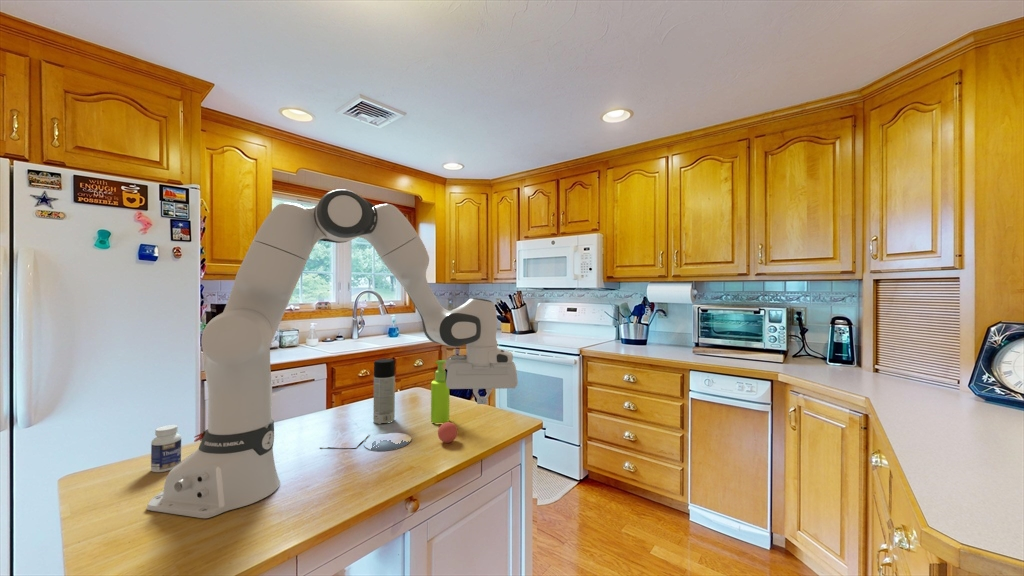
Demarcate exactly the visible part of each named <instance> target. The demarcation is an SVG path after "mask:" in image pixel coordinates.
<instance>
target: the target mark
mask: <svg viewBox="0 0 1024 576" xmlns="http://www.w3.org/2000/svg"><path fill="white" fill-rule="evenodd" d="M412 440H413V438H412V439H411V441H412ZM408 443H409V441H408V442H406V441H404V442H403V440H402V441H401V443H400V444H399V443H398V444H395V443H393V442H391V440H389V441H387V440H383V441H381V440H380V443H378V444H377V445H376V441H374V442H373V443H372V448H371V450H370V451H372V450H377V451H376V452H388V451H387V450H389V451H393V450H392V449H395V450H397V449H396V448H399V449H401V448H400V447H402V448H404V447H406V446H408V445H409V444H410V443H409V444H408ZM407 444H408V445H407ZM374 445H375V446H374ZM405 445H406V446H405ZM373 446H374V447H373ZM378 446H379V447H378ZM403 446H404V447H403ZM376 447H377V448H376Z"/></svg>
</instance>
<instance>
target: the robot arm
mask: <svg viewBox="0 0 1024 576" xmlns="http://www.w3.org/2000/svg"><path fill="white" fill-rule="evenodd" d="M356 238H362V239H363V240H366V242H368V243H370V244H369V245H371V246H372V247H373V248H374V250H375V251H376V253H377V255H378V256H379V258H380V259H381V261H382V262H383V264H384V265H385V267H386V268H387V269H388V270H389V272H391V274H392V275H393V276H394V277H395V278H396V281H398V282H399V284H400V285H401V287H403V289H404V291H405V292H406V294H407V295H408V297H409V299H410V300H411V302H412V304H413V306H415V307H414V308H415V309H416V310H417V312H418V314H419V317H420V318H421V323H422V330H423V333H424V335H425V337H426V338H427V339H428V340H429V341H430V342H432V343H434V344H440V345H444V346H446V347H447V346H448V347H451V348H458V347H461V346H465V347H466V348H465V350H466V354H465V355H464V354H461V355H455V354H454V355H450V356H449V357H447V358H446V359H445V360H446V363H445V369H446V370H447V372H446V386H447V387H448V388H449V390H465V389H466V390H467V389H468V390H469V389H470V390H472V394H473V395H474V397H475V398H476V404H477V405H488V401H489V397H490V395H491V393H492V390H493V389H501V390H502V389H516V388H517V386H518V383H519V381H518V372H517V366H516V364H515V363H514V361H513V360H514V356H513V353H512V352H511V351H509V350H505V349H502V348H498V340H497V331H498V317H497V308H496V306H495V303H494V302H493V301H491V300H489V299H485V298H477V297H471V298H469V299H468V300H467V301H466V302H464V303H462V304H461V305H459V306H458V307H456V308H454V309H451V310H448V309H446V308H445V307H443V306H442V305H441V304H440V302H439V300H438V298H437V297H436V295H435V294H434V292H433V290H432V288H431V286H430V285H429V282H428V280H427V270H428V267H429V264H430V256H429V253H428V251H427V248H426V246H425V243H424V242H423V240H422V239H421V237H420V236H419V234H418V233H417V231H416V230H415V228H414V226H413V225H412V224H411V222H410V221H409V220H408V218H407V217H406V216H405V215H404V214H403V213H402V211H401V210H400V209H399V208H398V207H397V206H395V205H393V204H390V203H381V204H377V205H375V204H373V203H371V202H370V201H368V200H367V199H365V198H364V197H363V196H362V197H361V196H360V195H359V194H358V193H356V192H354V191H352V190H348V189H335V190H331V191H328V192H327V193H325V194H324V195H323V196H322V197H321V198H320V199H319V200H318V202H317V204H316V205H315V206H312V207H305V206H303V205H300V204H298V203H293V202H292V203H291V202H282V203H278V204H277V205H275V206H274V208H273V209H271V211H270V212H269V214H268V215H267V216H266V218H265V219H264V220H263V222H262V224H261V225H260V227H259V228H258V230H257V231H256V234H255V235H254V238H253V240H252V241H251V243H250V245H249V248H248V250H247V252H246V253H245V256H244V258H243V260H242V262H241V264H240V266H239V268H238V270H237V273H236V275H235V279H234V282H233V285H232V287H231V288H232V289H231V291H230V294H229V297H228V300H227V301H226V305H225V306H224V309H223V312H221V313H219V314H218V315H216V316H215V317H213V318H212V319H211V320H210V321H209V322H208V323H207V324H206V325H205V327H204V328H203V330H202V334H201V337H200V338H201V342H200V344H201V349H202V356H203V358H202V359H203V366H204V367H203V368H204V375H205V380H206V386H207V395H208V396H207V411H208V412H207V429H205V430H204V431H202V432H201V433H199V434H197V435H195V436H193V438H196V439H194V441H193V442H194V443H195V442H198V441H200V440H201V441H200V444H199V446H198V449H196V450H194V451H193V452H192V453H190V455H188V456H187V457H186V458H184V459H183V460H181V462H180V463H179V464H178V465H176V466H175V467H174V468H173V469H172V470H169V471H168V474H167V475H166V478H165V481H164V485H163V486H164V487H163V490H162V491H160V492H159V493H158V494H156V495H155V496H154V497H152V498H151V499H150V500H149V502H148V503H147V507H146V509H147V510H148V511H152V512H159V513H165V514H172V515H179V516H184V517H185V516H186V517H192V518H198V519H209V518H212V517H216V516H218V515H220V514H222V513H225V512H228V511H231V510H235V509H238V508H243V507H245V506H248V505H252V504H254V503H256V502H258V501H261V500H263V499H265V498H267V497H269V496H270V495H271V494H273V493H274V492H276V491H277V489H278V488H279V487H280V485H281V481H280V479H279V476H278V472H277V469H276V468H277V467H276V464H275V457H274V450H273V449H274V441H275V440H274V439H275V422H274V419H273V415H272V414H273V413H272V412H273V408H272V406H273V383H272V373H271V372H272V371H271V343H272V342H273V339H274V338H275V335H276V334H277V331H278V328H279V326H280V323H281V321H282V319H283V317H284V314H285V312H286V310H287V307H288V305H289V303H290V300H291V298H292V296H293V293H294V291H295V288H296V287H297V284H298V282H299V279H300V278H301V275H302V273H303V271H304V269H305V266H306V265H307V262H308V260H309V258H310V255H311V253H312V251H313V249H314V247H315V245H316V244H317V243H318V242H319V241H320V242H329V243H337V244H341V243H342V244H343V243H347V242H350V241H353V240H354V239H356ZM483 389H485V392H486V395H485V396H480V394H479V390H483Z"/></svg>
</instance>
